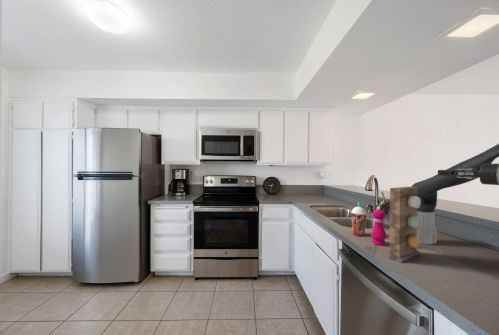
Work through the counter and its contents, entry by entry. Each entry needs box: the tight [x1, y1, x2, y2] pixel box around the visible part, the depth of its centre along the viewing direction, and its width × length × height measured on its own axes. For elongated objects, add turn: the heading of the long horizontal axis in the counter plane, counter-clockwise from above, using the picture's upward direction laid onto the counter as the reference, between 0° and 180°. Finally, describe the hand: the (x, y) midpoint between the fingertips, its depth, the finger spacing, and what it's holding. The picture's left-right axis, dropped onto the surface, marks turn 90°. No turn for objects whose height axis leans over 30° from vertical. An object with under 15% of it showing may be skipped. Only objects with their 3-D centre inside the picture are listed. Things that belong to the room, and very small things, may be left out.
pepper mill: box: [370, 206, 387, 247], centre depth 116 cm, size 7×7×20 cm
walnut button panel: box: [388, 186, 421, 263], centre depth 100 cm, size 5×17×32 cm, turn 120°
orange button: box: [407, 235, 421, 249], centre depth 97 cm, size 3×5×5 cm, turn 120°
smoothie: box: [350, 202, 367, 237], centre depth 131 cm, size 8×8×20 cm
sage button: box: [407, 216, 420, 228], centre depth 97 cm, size 3×5×5 cm, turn 120°
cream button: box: [407, 196, 421, 208], centre depth 96 cm, size 3×5×5 cm, turn 120°
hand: (438, 172), depth 89 cm, fingers closed
